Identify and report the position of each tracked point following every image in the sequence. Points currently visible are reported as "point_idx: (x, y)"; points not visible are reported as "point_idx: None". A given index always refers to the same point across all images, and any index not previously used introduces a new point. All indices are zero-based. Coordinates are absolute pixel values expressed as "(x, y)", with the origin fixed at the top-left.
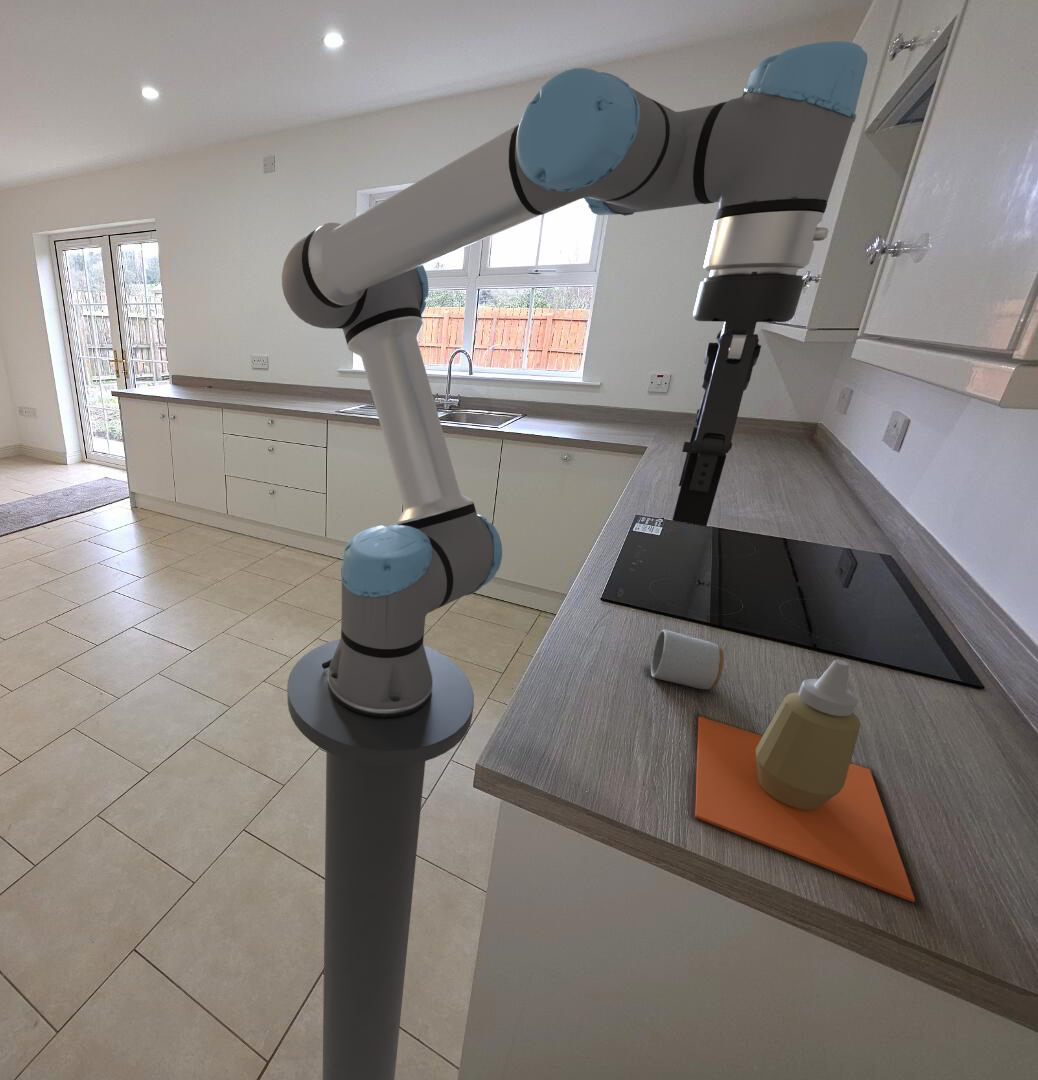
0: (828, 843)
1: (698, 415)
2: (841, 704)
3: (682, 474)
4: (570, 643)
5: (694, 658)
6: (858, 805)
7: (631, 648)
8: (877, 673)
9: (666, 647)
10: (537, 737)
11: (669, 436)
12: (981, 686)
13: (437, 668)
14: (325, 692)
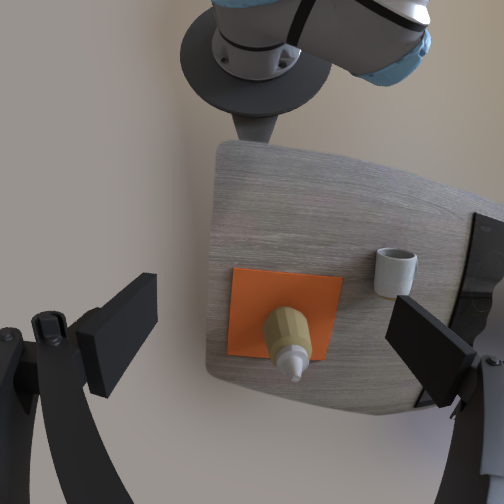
0: (247, 330)
1: (482, 376)
2: (277, 366)
3: (408, 305)
4: (407, 185)
5: (385, 279)
6: None
7: (417, 234)
8: None
9: (390, 259)
10: (265, 165)
11: None
12: (416, 407)
13: (302, 78)
14: None
